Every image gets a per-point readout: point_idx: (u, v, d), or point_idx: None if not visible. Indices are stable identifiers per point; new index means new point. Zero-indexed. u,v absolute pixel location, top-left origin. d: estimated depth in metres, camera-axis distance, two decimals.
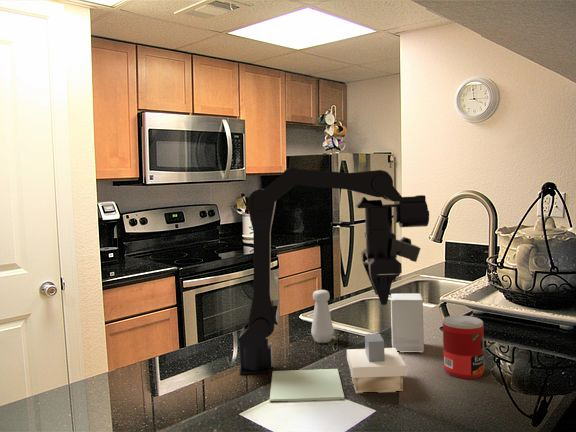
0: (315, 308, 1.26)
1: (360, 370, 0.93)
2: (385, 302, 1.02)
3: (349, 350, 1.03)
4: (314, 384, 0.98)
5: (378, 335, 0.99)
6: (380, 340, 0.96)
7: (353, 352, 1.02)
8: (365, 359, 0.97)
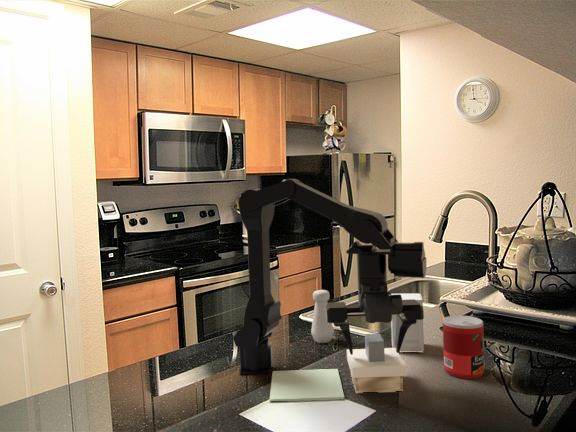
0: (315, 308, 1.26)
1: (360, 370, 0.93)
2: None
3: None
4: (314, 384, 0.98)
5: (378, 335, 0.99)
6: (380, 340, 0.96)
7: (353, 352, 1.02)
8: (365, 359, 0.97)
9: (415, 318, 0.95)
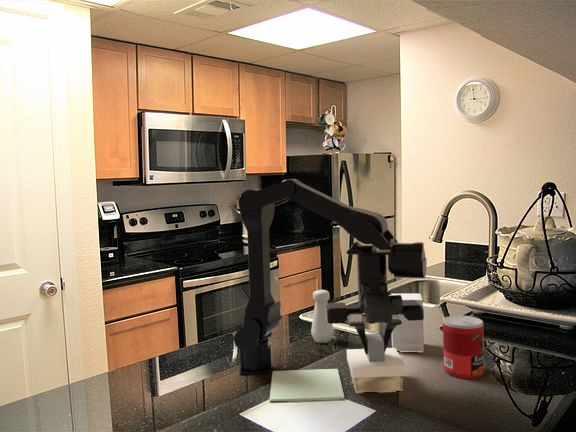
0: (315, 308, 1.26)
1: (360, 370, 0.93)
2: None
3: (349, 350, 1.03)
4: (314, 384, 0.98)
5: (378, 335, 0.99)
6: (380, 340, 0.96)
7: (353, 352, 1.02)
8: (365, 359, 0.97)
9: (415, 318, 0.95)
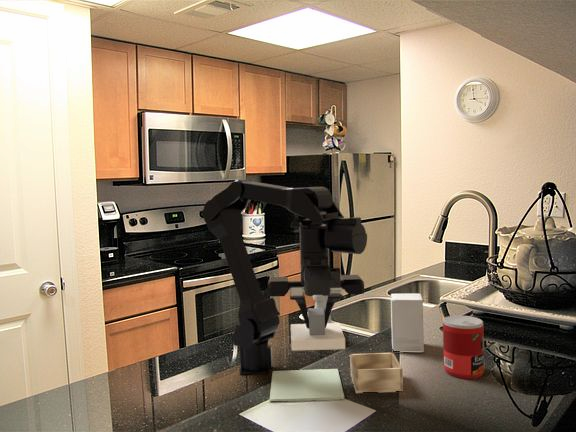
0: None
1: (299, 343, 0.93)
2: (306, 325, 0.98)
3: (293, 325, 1.03)
4: (314, 384, 0.98)
5: (320, 309, 0.99)
6: (320, 314, 0.96)
7: (296, 326, 1.02)
8: (307, 333, 0.97)
9: (355, 292, 0.95)
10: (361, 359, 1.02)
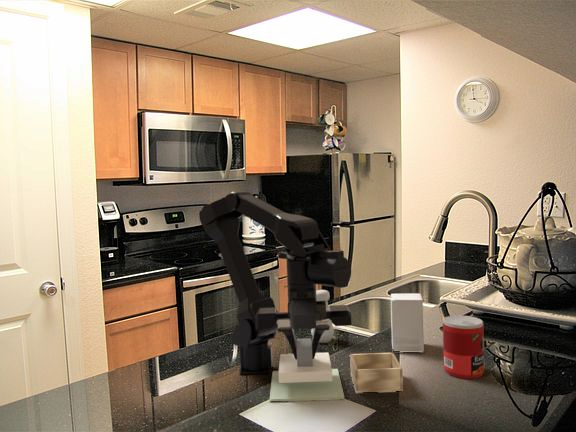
0: None
1: (286, 375, 0.94)
2: (294, 356, 0.98)
3: (282, 355, 1.03)
4: (314, 384, 0.98)
5: (309, 340, 0.99)
6: (308, 345, 0.96)
7: (286, 356, 1.02)
8: (295, 364, 0.97)
9: (342, 324, 0.95)
10: (361, 359, 1.02)
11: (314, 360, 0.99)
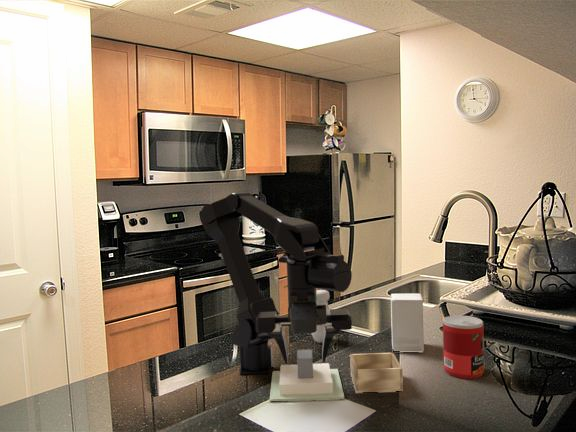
0: None
1: (287, 387, 0.94)
2: None
3: (283, 366, 1.03)
4: None
5: (309, 351, 1.00)
6: (308, 357, 0.96)
7: (286, 367, 1.02)
8: (295, 376, 0.98)
9: (343, 328, 0.95)
10: (361, 359, 1.02)
11: (315, 371, 0.99)
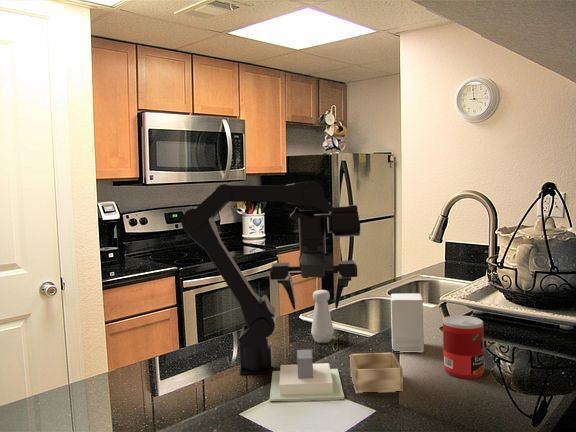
0: (315, 308, 1.26)
1: (287, 387, 0.94)
2: None
3: (283, 366, 1.03)
4: None
5: (309, 351, 1.00)
6: (308, 357, 0.96)
7: (286, 367, 1.02)
8: (295, 376, 0.98)
9: (349, 275, 1.04)
10: (361, 359, 1.02)
11: (315, 371, 0.99)
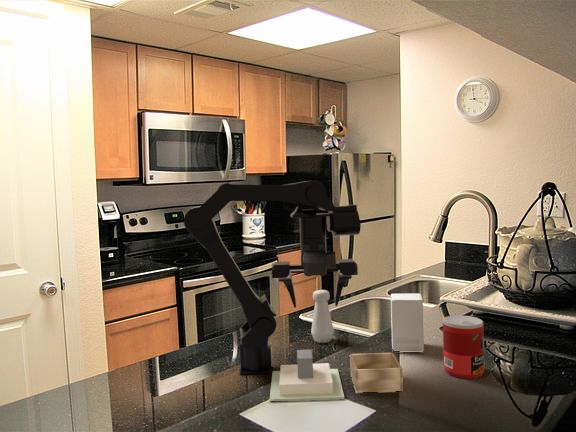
0: (315, 308, 1.26)
1: (287, 387, 0.94)
2: None
3: (283, 366, 1.03)
4: None
5: (309, 351, 1.00)
6: (308, 357, 0.96)
7: (286, 367, 1.02)
8: (295, 376, 0.98)
9: (350, 274, 1.06)
10: (361, 359, 1.02)
11: (315, 371, 0.99)
